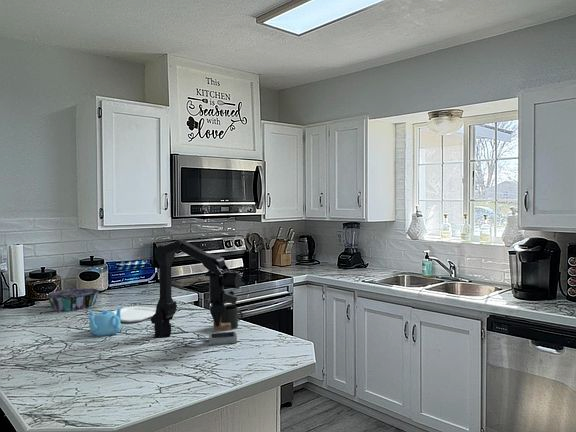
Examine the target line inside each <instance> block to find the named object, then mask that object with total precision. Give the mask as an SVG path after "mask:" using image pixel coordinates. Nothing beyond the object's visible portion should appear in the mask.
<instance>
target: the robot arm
mask: <svg viewBox="0 0 576 432" xmlns="http://www.w3.org/2000/svg"><path fill="white" fill-rule="evenodd" d="M178 252H182V253H184V254H186V255H187V256H189V257H191V258H193V259H195V260H196V261H198V262H200V263H201V264H202V266H203V267H204V268H206V269H207V272H206V273H205V274H204V277H208V278H209V279H208V280H209V289H208V290H209V291H208V292H209V298H208V308H209V312H210V315H211V316H212V317H211V318H212V319H213V320H214V322H215V324H216V326H219V323H220V318H221V314H222V313H223V312H226V306H227V305H225V304H226V303H229V304H231V305H232V306H236V304H237V300H238V298H239V297H238V296H237V295H236V294H235V293H234V291H232V290H229V291H227V292H226V291H225V289H234V290H235V289H238V290H239V289H240V288H241V286H242V282H243V280H242V279H243V278H242V277H241V275H240V272H239V271H231V270H230V268H229V266H228V265H227V264H226V261H225V258H224V257H223V256H220V255H217V254H213V253H209V252H207V251H204V250H202V249H201V248H199V247H197V246H196V245H194V244H191V243H190V242H188V241H187V240H185V239H178V240H176V241H174V242H171V243H167V244H161V245H158V246H156V248H155V250H154V253H155V259H156V261H157V263H158V265H159V298H158V301H157V304H156V306H155V308H156V313H155V314H154V315H153V316H152V317H150V323H151V324H154V337H153V338H155V339H156V338H168V337H171V335H172V323H170V321H171V320H173V318H174V315H175V314H176V311H178V310H177V301H175V300H174V299H173V297H172V265H173V263H174V260H175V258H176V257H175V256H176V253H178ZM224 288H225V289H224Z"/></svg>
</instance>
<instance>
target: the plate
mask: <svg viewBox="0 0 576 432" xmlns="http://www.w3.org/2000/svg"><path fill="white" fill-rule="evenodd" d="M111 312H114V313H115V314H116V313H117V309H116V310H112V311H111ZM155 313H156V307H146V306H137V305H135V306H124V307H122V308H121V311H120V314H121V320H120V323H128V324H131V323H132V324H133V323H138V322H139V323H140V322H142V321H144V320H147V319H148V320H149V319H151V317H152V316H153V315H154V314H155Z"/></svg>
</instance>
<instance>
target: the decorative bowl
mask: <svg viewBox="0 0 576 432" xmlns="http://www.w3.org/2000/svg"><path fill="white" fill-rule="evenodd" d="M99 292H100V289H97V288H92V287H91V288H90V287H89V288H88V287H87V288H86V287H85V288H82V287H81V288H70V289H63V290H58V291H55V292H52V293H49V294H47V295H46V297H47V300H48V301H49V304H50V306H51V308H52V309H53V310H54V311H55V310H56V312H59V311H61V312H72V311H71V310H74V311H80V310H85V309H89V307H90V308H91V306H92V307H94V306H95V304H96V302H97V299H98V295H99ZM93 305H94V306H93ZM84 308H85V309H84ZM79 309H80V310H79ZM57 310H58V311H57Z"/></svg>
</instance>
